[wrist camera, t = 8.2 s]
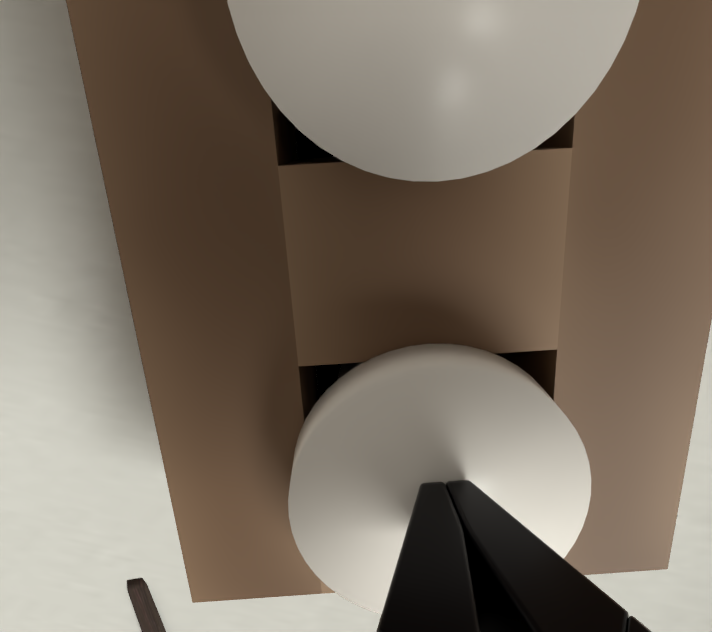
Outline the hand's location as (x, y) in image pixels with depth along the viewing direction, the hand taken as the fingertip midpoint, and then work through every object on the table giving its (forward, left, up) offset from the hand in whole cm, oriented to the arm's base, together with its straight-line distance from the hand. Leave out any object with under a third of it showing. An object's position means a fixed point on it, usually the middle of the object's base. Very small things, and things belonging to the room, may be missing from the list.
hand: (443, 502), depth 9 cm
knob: (0, 0, -5) cm, 5 cm away
